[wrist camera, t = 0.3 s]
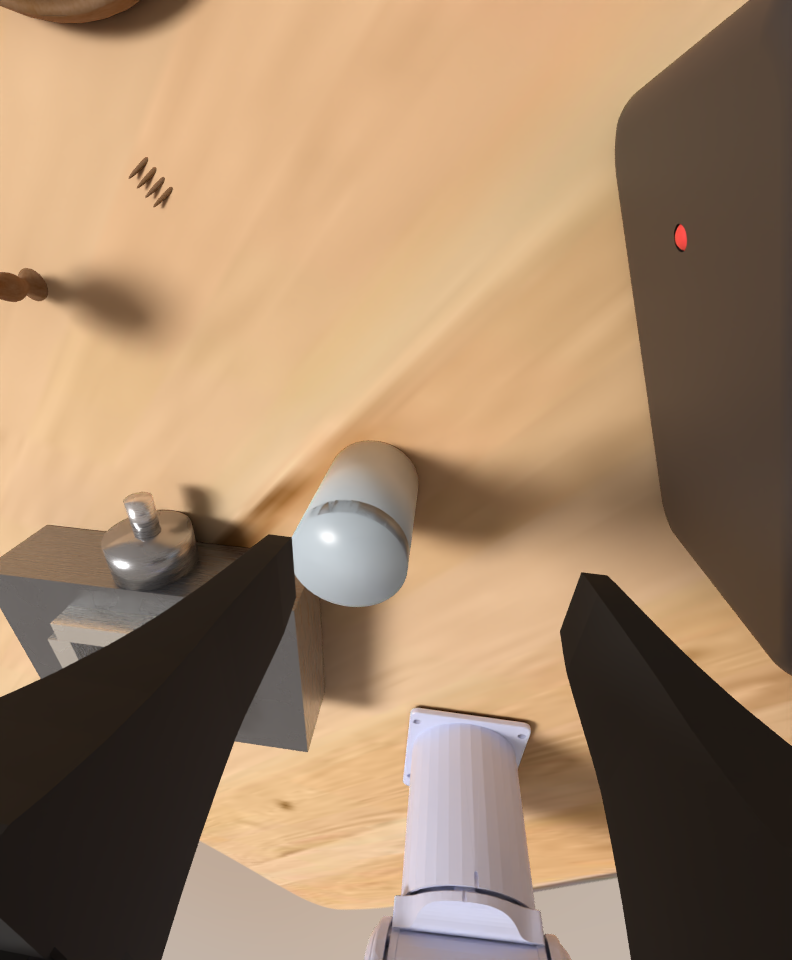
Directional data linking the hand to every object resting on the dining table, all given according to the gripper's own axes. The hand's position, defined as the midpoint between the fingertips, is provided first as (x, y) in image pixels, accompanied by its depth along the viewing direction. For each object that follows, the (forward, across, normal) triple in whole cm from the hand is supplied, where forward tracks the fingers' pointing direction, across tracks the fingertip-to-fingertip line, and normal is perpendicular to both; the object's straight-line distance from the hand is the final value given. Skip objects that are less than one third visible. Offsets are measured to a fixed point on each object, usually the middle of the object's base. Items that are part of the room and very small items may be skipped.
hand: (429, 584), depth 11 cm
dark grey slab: (+10, -8, -4) cm, 13 cm away
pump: (+10, +3, +3) cm, 10 cm away
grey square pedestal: (+10, +14, +12) cm, 21 cm away
